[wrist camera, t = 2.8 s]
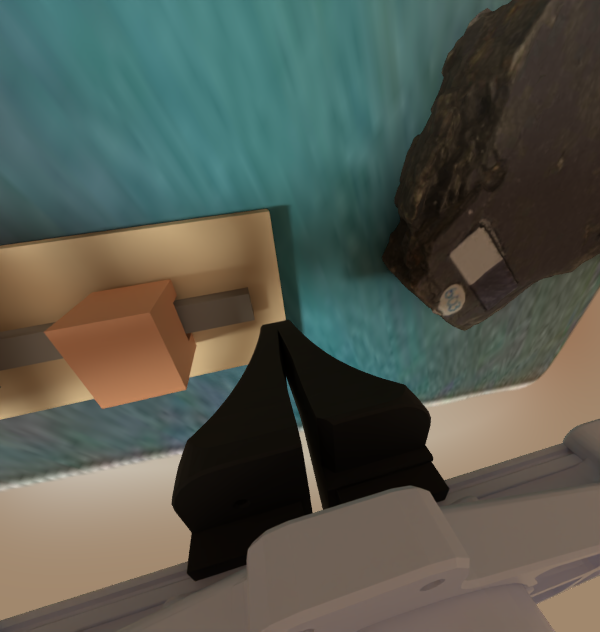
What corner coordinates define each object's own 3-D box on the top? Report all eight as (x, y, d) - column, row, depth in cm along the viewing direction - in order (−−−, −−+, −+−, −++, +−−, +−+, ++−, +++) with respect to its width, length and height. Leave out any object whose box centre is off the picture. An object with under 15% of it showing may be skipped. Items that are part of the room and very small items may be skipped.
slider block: (130, 359, 16) (102, 408, 12) (92, 292, 13) (43, 332, 10) (196, 345, 16) (186, 389, 13) (170, 279, 14) (149, 312, 10)
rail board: (-1, 408, 17) (-61, 467, 13) (-154, 266, 12) (-312, 304, 8) (288, 345, 20) (299, 381, 16) (266, 208, 14) (276, 219, 11)
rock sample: (403, -9, 12) (499, -114, 7) (650, 19, 14) (821, -45, 10) (363, 317, 20) (396, 354, 16) (521, 295, 23) (585, 322, 19)
